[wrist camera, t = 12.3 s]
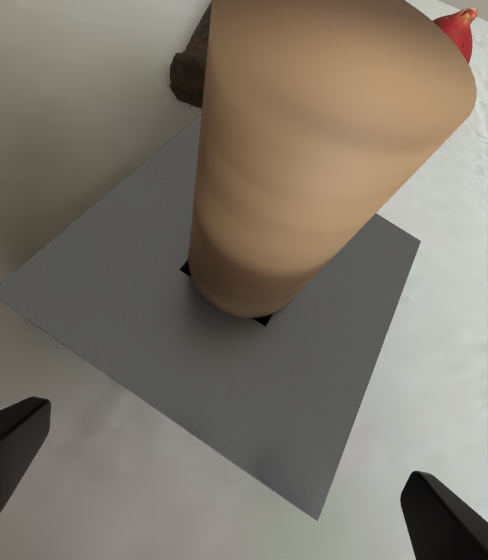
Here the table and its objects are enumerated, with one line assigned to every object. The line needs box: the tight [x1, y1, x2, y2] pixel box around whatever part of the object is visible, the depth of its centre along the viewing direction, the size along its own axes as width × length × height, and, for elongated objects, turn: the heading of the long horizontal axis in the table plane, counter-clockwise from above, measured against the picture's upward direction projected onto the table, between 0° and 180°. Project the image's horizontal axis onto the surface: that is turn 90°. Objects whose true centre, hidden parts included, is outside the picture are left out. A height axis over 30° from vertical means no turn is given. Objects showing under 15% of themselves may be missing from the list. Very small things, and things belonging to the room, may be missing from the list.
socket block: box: [0, 114, 421, 521], centre depth 17 cm, size 16×16×3 cm
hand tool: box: [170, 1, 212, 108], centre depth 27 cm, size 19×4×5 cm, turn 166°
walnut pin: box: [188, 0, 476, 318], centre depth 12 cm, size 6×6×13 cm
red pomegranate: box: [433, 7, 478, 64], centre depth 27 cm, size 6×6×8 cm
